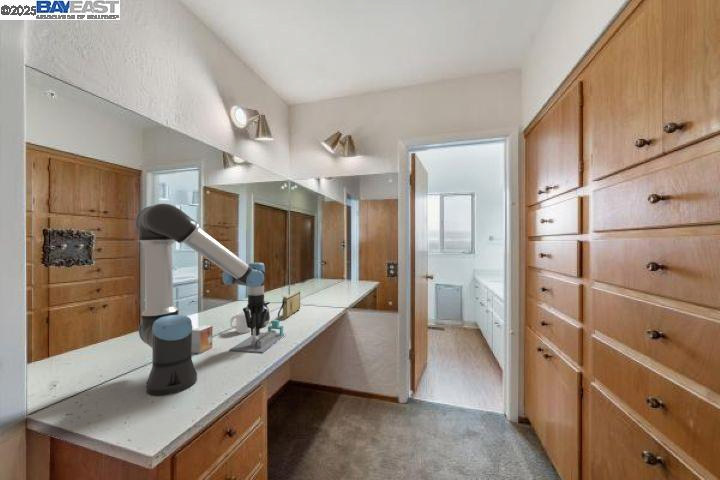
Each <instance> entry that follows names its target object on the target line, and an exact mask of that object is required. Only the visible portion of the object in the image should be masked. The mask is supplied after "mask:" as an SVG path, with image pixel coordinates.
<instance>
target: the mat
mask: <svg viewBox="0 0 720 480" xmlns="http://www.w3.org/2000/svg"><path fill="white" fill-rule="evenodd" d="M264 333H265V332H264V331H263V332H261V331H260V334H259V335H258V337H259V336H261V335H262V334H264ZM284 334H285V333H283V334H282V335H280V332H276V338H274V339H273V340H271V341H270V342H269V343H267V344H266V345H265V346H263V347H262V348H257V347H255V348H254V347H251V341H252V338H253V336H251V335H250V336H249V337H248V338H246V339H244V340H242V341H240V342H239V343H238V344H236V345H234V346H233V347H231V348H229V350H228V351H229V352H238V353H239V352H240V353H254V352H258V353H257V354H259V353H260V354H264V353H265V352H266V351H268V350H269V349H270V348H272V347H273V346H274V345H276V344H277V343H278V342H279V341H280V339H281V338H282V337H283V336H284ZM284 337H285V336H284ZM284 337H283V338H284ZM283 338H282V339H283ZM282 339H281V340H282ZM278 340H279V341H278ZM277 341H278V342H277ZM276 342H277V343H276ZM273 344H274V345H273ZM272 345H273V346H272ZM271 346H272V347H271ZM268 348H269V349H268ZM267 349H268V350H267ZM263 352H264V353H263Z"/></svg>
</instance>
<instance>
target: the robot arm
mask: <svg viewBox="0 0 720 480" xmlns="http://www.w3.org/2000/svg"><path fill="white" fill-rule="evenodd" d="M135 226H136V228H137V230H138V241H139V242H140V243H141V244H142V245H144V267H145V268H144V269H145V270H144V272H145V276H144V277H145V307H146V308H145V309H144V310H143V311H142V312H141V319H140V321H141V322H140V324H139V326H138V334H139V337H140V340H141V341H142V342H143V343H145V344H146V345H147V346H148V347H150V348H151V349H152V358H151V359H152V361H151V362H152V367H151V370H150V372H149V375H148V379H147V381H146V384H145V394H147V395H149V396H153V397H158V396H159V397H160V396H161V397H162V396H168V395H172V394H173V395H174V394H177V393H179V392H183V391H185V390H187V389H188V388H191V387H192V386H193V385H195V384H196V382H197V381H198V372H197V370H196V369H195V365H194V362H193V358H192V354H193V353H192V329H193V323H192V319H191V318H190V317H189V316H187V315H183V314H182V315H180V314H179V308H178V307H177V306H175V305H174V279H173V272H174V271H173V244H174V243H175V242H177V243H178V244H184V245H186V246H188V247H189V248H191V249H192V250H193V251H195V252H197V253H198V254H200V255H201V256H203V258H205V259H207V261H210V262H211V263H212V264H214V265H216V266H217V267H219V268H220V269H221V270H222V271H223V272H222V279H221V280H222V282H223V283H224V285H229V286H230V285H231V286H232V285H240V286H243V287H244V286H245V287H247V306H245V307H243V308H242V312H244V313H245V318H246V323H247V327H248V328H251V331H250V334H251V335H250V337H251V336H253V338H252V341H253V340H254V339H256V338H257V337H258V335H259V334H260V332H261V330H260V329H263V327H265V326H264V323H265V319H266V315H267V312H268V311H269V310H270V308H269V307H268V308H266V307H265V305H264V302H265V278H266V277H265V274H266V270H265V269H266V267H265V264H264V263H263V262H249V263H247V262H245V261H244V260H242V258H240V257H239V256H237V255H236V254H235V253H233V252H232V251H231V250H230V249H229V248H227V247H225V246H224V245H222V244H221V243H220V242H219V241H218V240H216V239H215V238H213V236H211V235H210V234H208V233H207V232H206V231H204V230H203V229H202V228H200V225H199V223H198V222H197V221H196V220H194V219H193V218H192V217H190V215H188V214H186V213H185V212H184V211H183V210H181V208H178V207H176V206H175V205H172V204H169V203H157V204H155V205H150V206H147V207H145V208H142V210H140V211H139V213H137V216H136V218H135ZM262 310H263V313H262V317H261V321H260V316H261V311H262ZM269 312H270V311H269ZM250 315H251V317H250Z"/></svg>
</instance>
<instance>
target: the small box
mask: <svg viewBox="0 0 720 480" xmlns="http://www.w3.org/2000/svg"><path fill="white" fill-rule="evenodd" d="M212 348H213V325H204V324H203V325H200V326H198V327H196V328H192V354H202V353H204V352H206V351H207V350H210V349H212Z"/></svg>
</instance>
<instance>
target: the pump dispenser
mask: <svg viewBox="0 0 720 480" xmlns="http://www.w3.org/2000/svg"><path fill="white" fill-rule="evenodd" d="M264 305H265V307H266V308H269V307H268V305H270V301H268V302H266V301H264ZM262 313H263V310H262V311H261V316H260V321H261V317H262ZM270 319H271V315H270V311H268V312H267V315H266V319H265V323H264V327H265V326H267V325H268V324H269V322H270Z"/></svg>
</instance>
